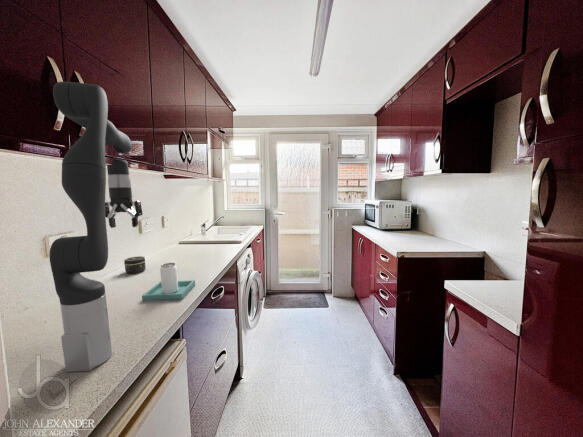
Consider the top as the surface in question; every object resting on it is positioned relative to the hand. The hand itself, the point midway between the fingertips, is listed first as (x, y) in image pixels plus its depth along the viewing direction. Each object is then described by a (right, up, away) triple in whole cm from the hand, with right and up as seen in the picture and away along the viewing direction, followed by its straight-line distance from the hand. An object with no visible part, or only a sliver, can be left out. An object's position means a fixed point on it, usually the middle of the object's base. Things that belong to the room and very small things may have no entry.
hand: (124, 227), depth 106 cm
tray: (+15, -29, +9) cm, 34 cm away
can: (+15, -29, +9) cm, 33 cm away
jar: (-19, -26, +41) cm, 52 cm away
